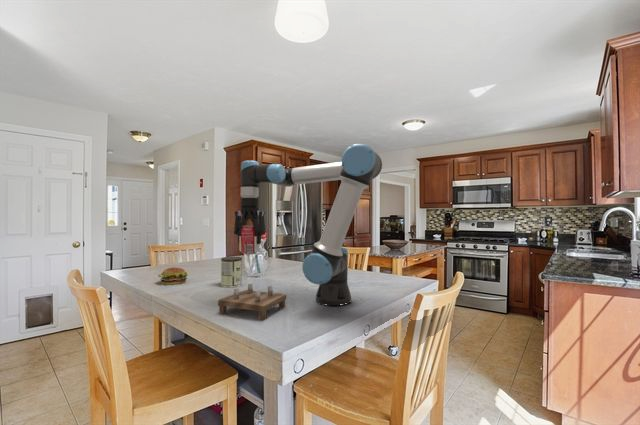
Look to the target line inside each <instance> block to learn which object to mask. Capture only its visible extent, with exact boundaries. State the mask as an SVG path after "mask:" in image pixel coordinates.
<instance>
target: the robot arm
mask: <svg viewBox="0 0 640 425" xmlns="http://www.w3.org/2000/svg"><path fill="white" fill-rule="evenodd" d="M382 169H383V161H382V159H381V157H380V155H379V154H378V153H377V152H375V150H374V148H372V147H371V146H370V145H369V146H368V145H366V144H364V143H355V144H352V145H349V147H347V148H346V149H345V150H344V152H343V153H342V156H341V160H340V161H336V162H327V163H320V164H314V165H313V164H312V165H306V166H298V167H292V168H285V167H284V166H283V164H280V163H279V164H278V163H277V164H276V163H272V164H271V163H270V164H263V165H262V164H261V165H260V163H259V162H258V161H256V160H244V161H243V160H242V162H241V163H240V197H241V198H240V207H241V208H240V210H239V211H235V212H234V217H235V220H234V230H233V234H234V235H237V243H238V244H239V245H238V246H239V249H238V250H239V252H241V229H242V227H243V226H247V223H248V221H249V220H250V221H251V222H252V226H254V230H255V233H256V235H255V238H254V252H256V253H260V245H261V243H262V236H264V235H266V225H265V214H266V212H265V211H262V210H259V205H260V203H259V200H260V199H259V195H260V194H259V192H260V191H259V190H260V188H259V187H260V184H274V185H278V186H283V187H293V186H295V185H302V184H303V185H305V184H312V183H314V184H315V183H322V182H331V181H332V182H333V181H341V183H340V185H339V188H338V190H337V193H336V196H335V198H334V201H333V204H332V206H331V209H330V212H329V214H328V217H327V220H326V223H325V225H324V228H323V230H322V234H321V236H320V239H319V241H316V242H314V243H313V247H312V248H311V252H310V254H308V255H307V256H306V257H305V258H304V259H303V262H302V267H301V268H302V273H303V274H304V277H305V278H306V280H308V281H309V282H310V283H312V284H314V285H318V288H317V291H316V294H315V302H316V303H317V304H319V303H320V305H322V304H327V305H340V304H345V303H349V302H350V301H351V302H352V294H351V292H350V287H349V285H348V284H349V283H348V275H349V274H348V270H349V269H348V268H349V267H348V263H349V262H348V261H349V253H348V249H347V248H346V247H343V243H344V242H345V239H346V237H347V233H348V231H349V228H350V226H351V223H352V221H353V218H354V215H355V213H356V211H357V210H356V209H357V207H358V204H359V202H360V199H361V197H362V194H363V191H364V190H365V189H368V188H369V187H370V184H371V183H372V180H375V179H376V177H378V176H380V173H381V171H382ZM257 215H258V216H257ZM327 305H326V306H327Z"/></svg>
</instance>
